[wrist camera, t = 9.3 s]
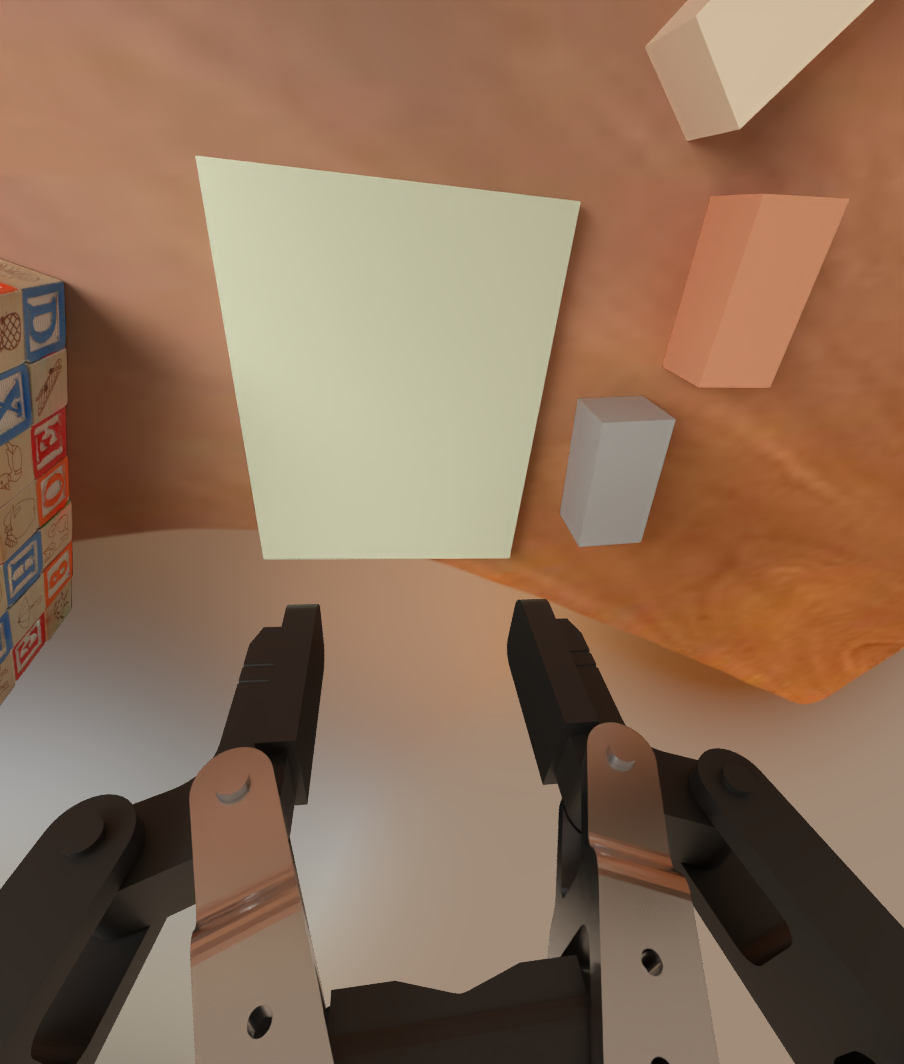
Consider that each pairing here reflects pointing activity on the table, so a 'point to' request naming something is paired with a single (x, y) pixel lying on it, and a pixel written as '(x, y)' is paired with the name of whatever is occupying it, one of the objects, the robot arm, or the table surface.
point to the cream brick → (739, 55)
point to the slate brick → (614, 468)
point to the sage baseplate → (384, 354)
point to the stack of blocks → (32, 468)
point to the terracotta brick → (749, 286)
